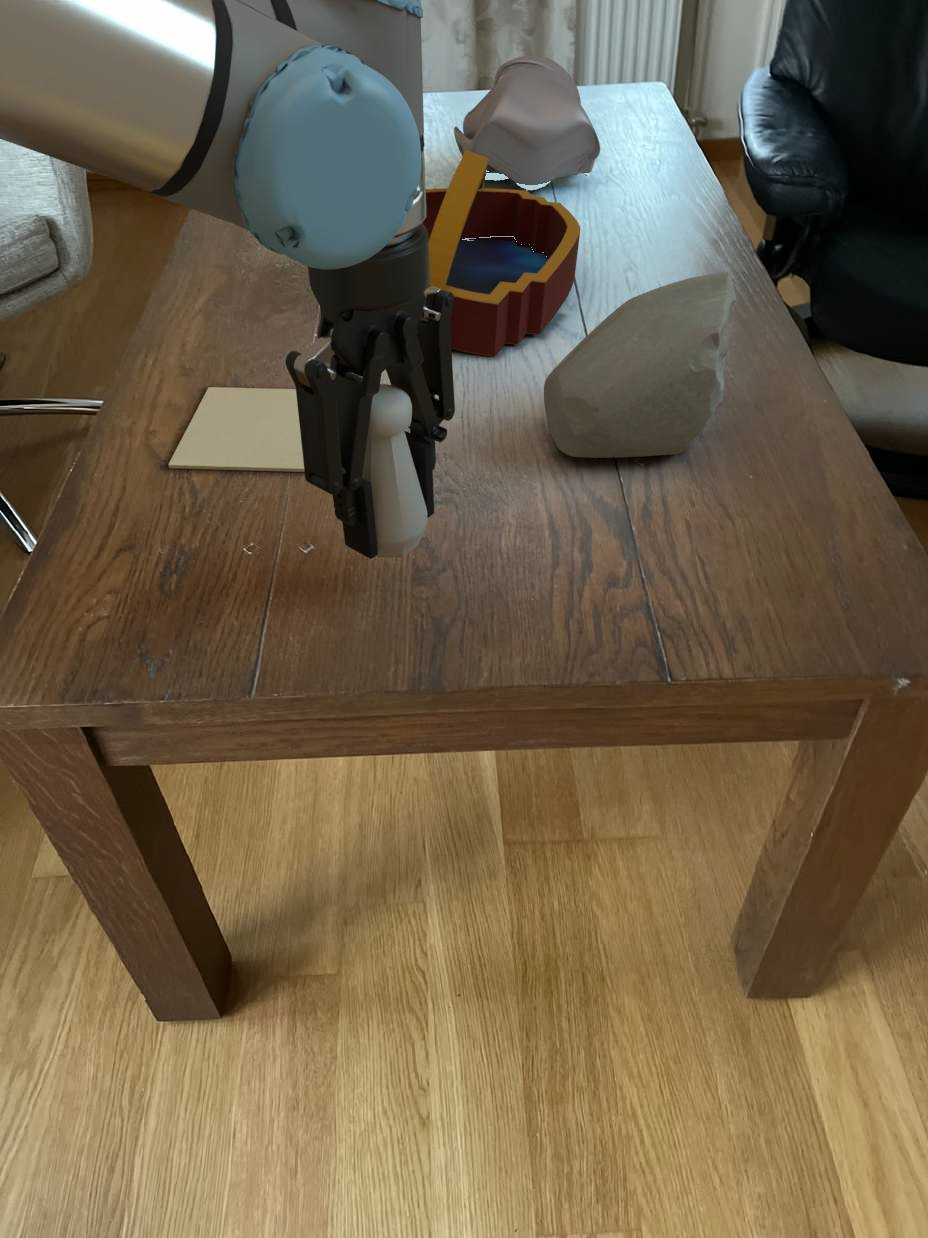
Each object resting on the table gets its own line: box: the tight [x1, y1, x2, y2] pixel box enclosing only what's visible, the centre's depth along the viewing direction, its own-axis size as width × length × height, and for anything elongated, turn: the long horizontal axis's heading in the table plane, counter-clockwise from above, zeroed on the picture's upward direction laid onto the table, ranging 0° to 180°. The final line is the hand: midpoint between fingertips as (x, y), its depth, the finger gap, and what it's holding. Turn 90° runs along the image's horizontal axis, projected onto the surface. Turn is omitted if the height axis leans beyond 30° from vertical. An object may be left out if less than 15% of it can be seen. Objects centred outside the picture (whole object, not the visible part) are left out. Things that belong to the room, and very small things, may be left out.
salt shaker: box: [362, 383, 428, 558], centre depth 69 cm, size 6×6×13 cm
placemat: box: [167, 386, 305, 473], centre depth 93 cm, size 14×14×1 cm
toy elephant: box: [453, 54, 601, 192], centre depth 135 cm, size 20×18×15 cm
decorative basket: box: [422, 150, 581, 358], centre depth 109 cm, size 34×29×15 cm
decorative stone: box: [543, 271, 737, 459], centre depth 86 cm, size 12×17×15 cm
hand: (390, 528), depth 73 cm, fingers closed on salt shaker, 6 cm apart
